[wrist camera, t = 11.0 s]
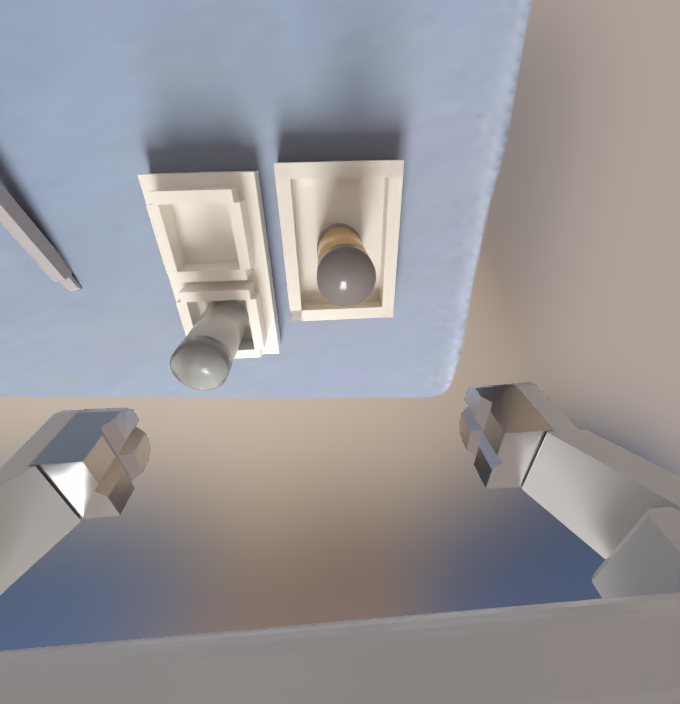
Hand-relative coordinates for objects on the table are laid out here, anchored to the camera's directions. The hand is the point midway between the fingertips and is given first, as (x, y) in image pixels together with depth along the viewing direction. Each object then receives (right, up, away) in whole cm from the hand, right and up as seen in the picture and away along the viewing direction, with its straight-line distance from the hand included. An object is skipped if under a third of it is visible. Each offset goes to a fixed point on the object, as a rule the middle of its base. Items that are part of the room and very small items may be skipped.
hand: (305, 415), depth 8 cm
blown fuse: (+1, +10, +19) cm, 22 cm away
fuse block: (-9, +9, +20) cm, 24 cm away
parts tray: (+1, +11, +19) cm, 22 cm away
